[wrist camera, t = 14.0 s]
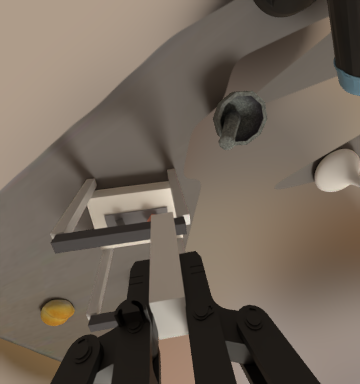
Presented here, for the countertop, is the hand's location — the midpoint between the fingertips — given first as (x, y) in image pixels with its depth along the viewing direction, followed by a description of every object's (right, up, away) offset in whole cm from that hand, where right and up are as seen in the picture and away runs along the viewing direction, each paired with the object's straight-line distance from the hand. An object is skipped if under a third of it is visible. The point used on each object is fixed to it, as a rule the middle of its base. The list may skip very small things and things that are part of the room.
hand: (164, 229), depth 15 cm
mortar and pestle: (+11, +19, +30) cm, 37 cm away
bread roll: (-35, -32, +49) cm, 69 cm away
